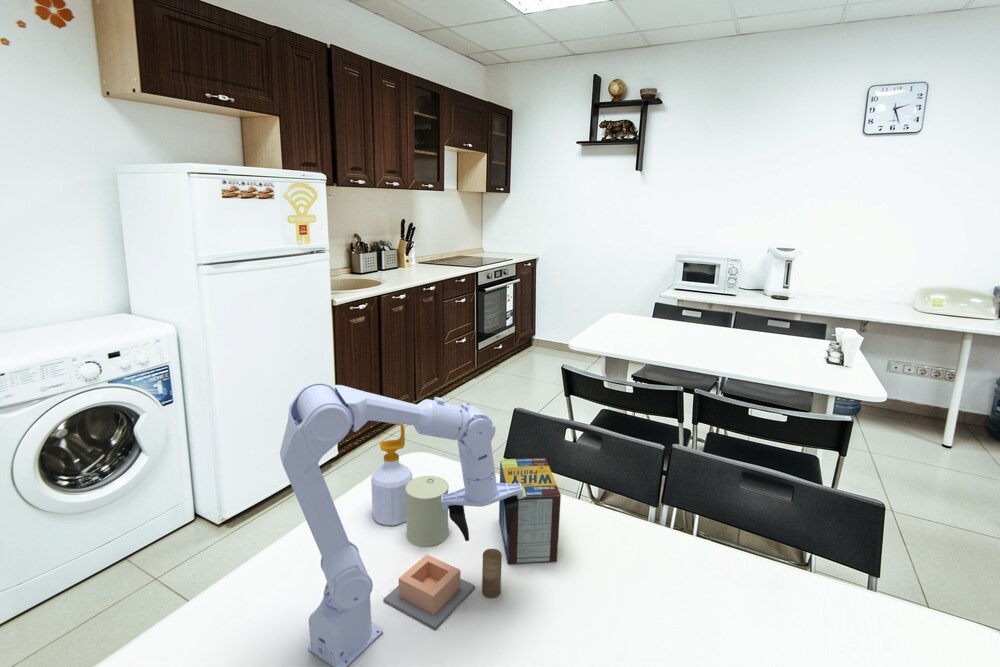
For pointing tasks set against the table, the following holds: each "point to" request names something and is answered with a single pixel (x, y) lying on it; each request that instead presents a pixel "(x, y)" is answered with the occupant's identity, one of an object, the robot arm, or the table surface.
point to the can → (426, 511)
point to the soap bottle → (390, 484)
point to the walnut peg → (491, 573)
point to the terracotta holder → (429, 591)
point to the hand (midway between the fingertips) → (487, 534)
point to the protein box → (531, 512)
